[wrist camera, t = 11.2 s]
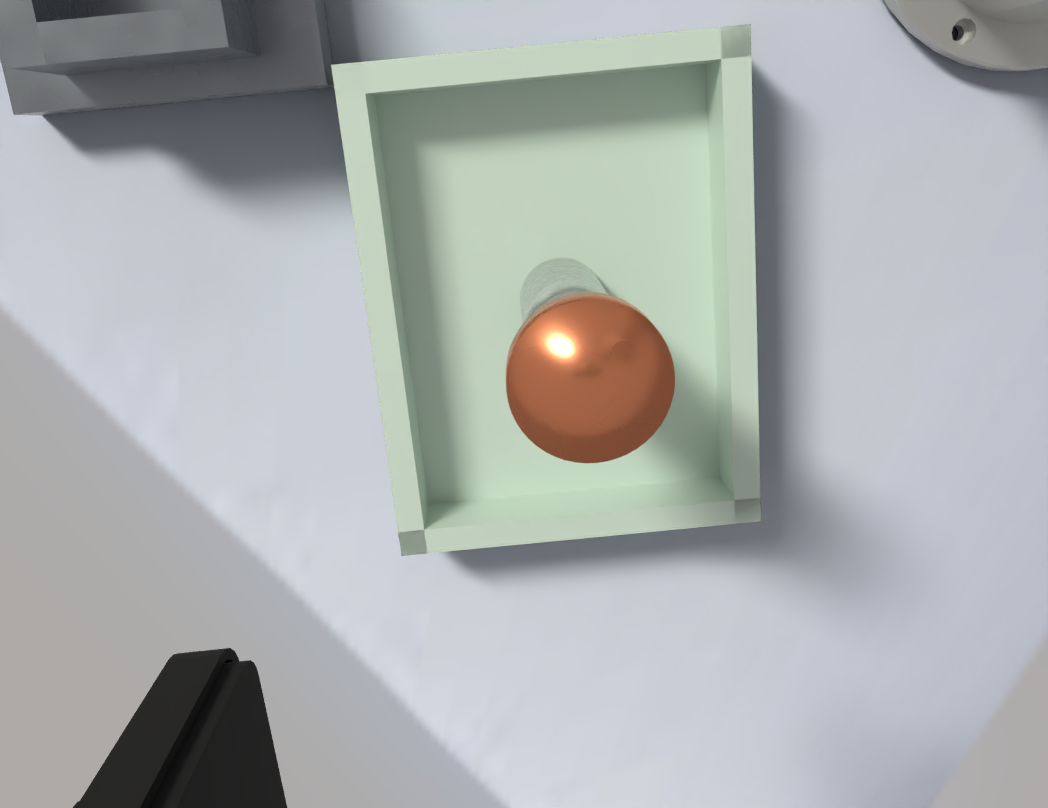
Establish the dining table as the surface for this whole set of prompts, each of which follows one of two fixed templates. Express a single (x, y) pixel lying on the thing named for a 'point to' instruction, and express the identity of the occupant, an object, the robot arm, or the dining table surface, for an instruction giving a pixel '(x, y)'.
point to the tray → (547, 233)
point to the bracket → (158, 51)
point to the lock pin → (585, 367)
